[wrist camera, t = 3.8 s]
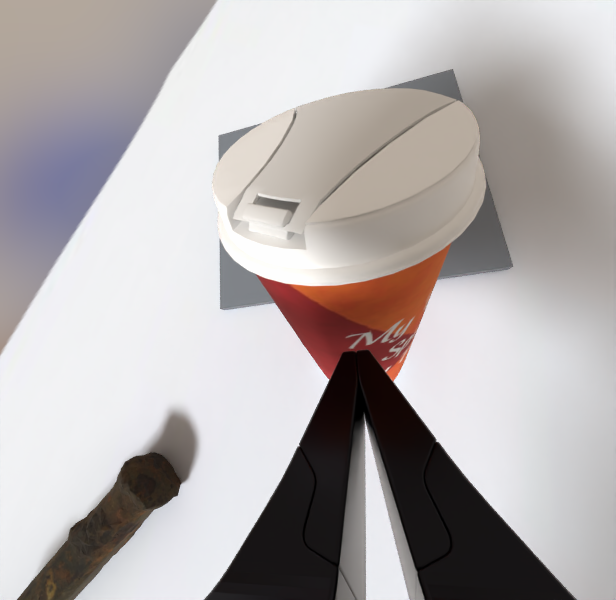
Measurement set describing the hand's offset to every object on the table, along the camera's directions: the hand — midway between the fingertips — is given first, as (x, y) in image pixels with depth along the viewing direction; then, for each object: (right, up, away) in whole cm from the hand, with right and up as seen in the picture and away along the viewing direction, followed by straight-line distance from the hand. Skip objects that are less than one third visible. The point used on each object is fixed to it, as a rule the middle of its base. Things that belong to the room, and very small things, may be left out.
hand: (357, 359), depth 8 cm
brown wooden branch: (-18, -18, +12) cm, 28 cm away
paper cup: (+2, -2, +10) cm, 10 cm away
